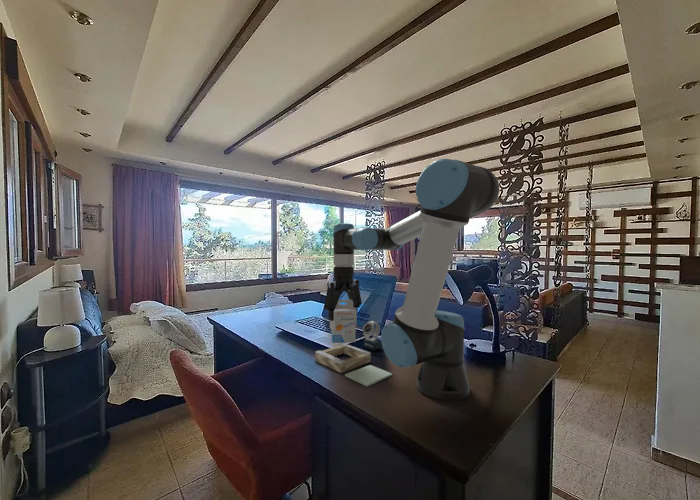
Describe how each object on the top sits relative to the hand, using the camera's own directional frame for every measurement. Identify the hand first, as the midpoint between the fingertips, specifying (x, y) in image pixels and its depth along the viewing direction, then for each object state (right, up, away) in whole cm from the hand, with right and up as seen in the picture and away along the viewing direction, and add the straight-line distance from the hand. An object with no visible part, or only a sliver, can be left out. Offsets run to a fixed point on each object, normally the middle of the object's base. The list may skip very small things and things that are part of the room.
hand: (343, 326), depth 111 cm
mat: (+9, -13, -12) cm, 20 cm away
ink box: (0, -5, 0) cm, 5 cm away
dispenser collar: (0, -13, 0) cm, 13 cm away
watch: (+12, -13, +16) cm, 23 cm away
